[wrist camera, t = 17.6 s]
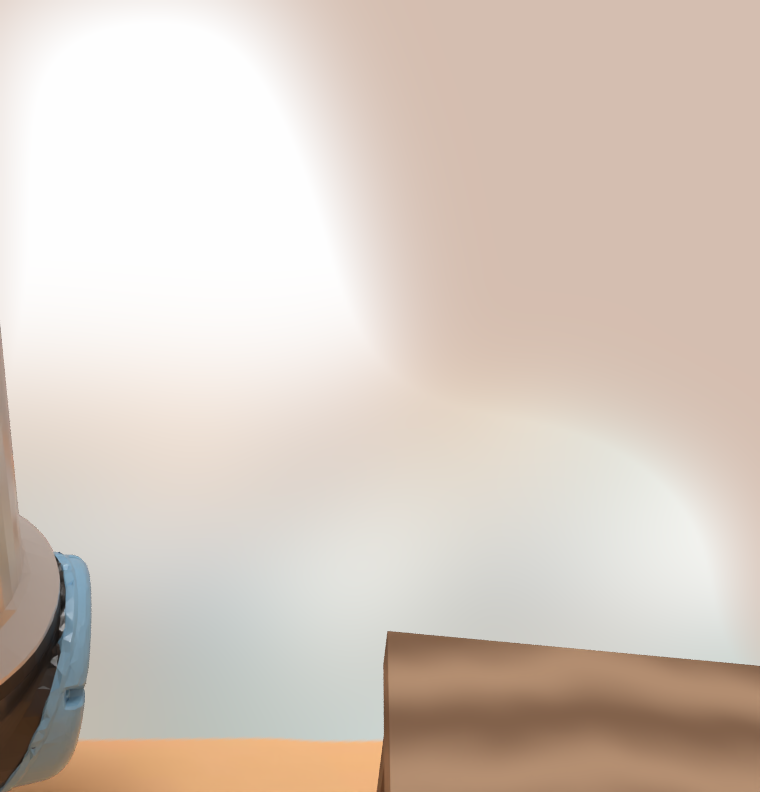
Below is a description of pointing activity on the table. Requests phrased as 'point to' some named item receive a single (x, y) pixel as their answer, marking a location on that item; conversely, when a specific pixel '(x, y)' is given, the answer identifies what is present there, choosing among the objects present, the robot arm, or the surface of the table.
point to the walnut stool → (563, 720)
